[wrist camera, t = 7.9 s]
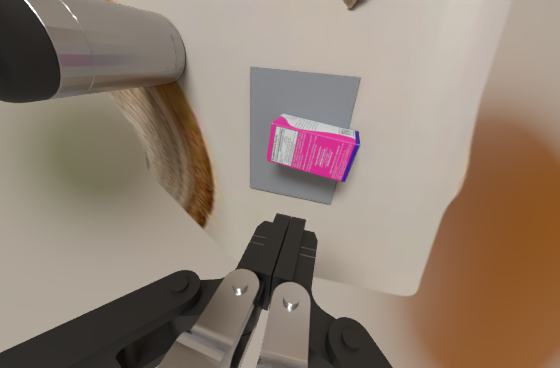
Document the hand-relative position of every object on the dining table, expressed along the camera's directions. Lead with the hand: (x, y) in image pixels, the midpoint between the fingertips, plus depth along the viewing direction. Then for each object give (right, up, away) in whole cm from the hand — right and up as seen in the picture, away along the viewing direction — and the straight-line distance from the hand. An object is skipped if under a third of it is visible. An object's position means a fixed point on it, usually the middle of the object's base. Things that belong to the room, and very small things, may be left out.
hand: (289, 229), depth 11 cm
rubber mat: (+2, +9, +23) cm, 25 cm away
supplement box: (+10, +6, +19) cm, 22 cm away
